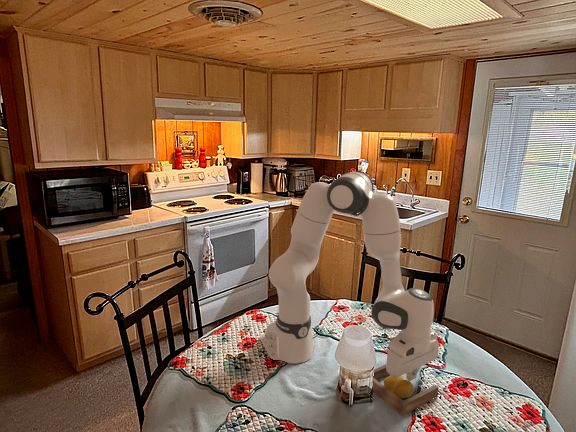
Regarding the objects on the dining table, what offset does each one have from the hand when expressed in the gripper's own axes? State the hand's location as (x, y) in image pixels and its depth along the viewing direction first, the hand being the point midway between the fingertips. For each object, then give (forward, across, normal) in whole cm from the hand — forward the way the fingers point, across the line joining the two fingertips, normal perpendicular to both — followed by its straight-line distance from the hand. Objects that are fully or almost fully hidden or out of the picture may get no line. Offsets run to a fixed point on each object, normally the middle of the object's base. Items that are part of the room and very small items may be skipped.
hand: (411, 378), depth 125 cm
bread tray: (+2, +4, 0) cm, 5 cm away
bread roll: (+2, +5, 0) cm, 6 cm away
